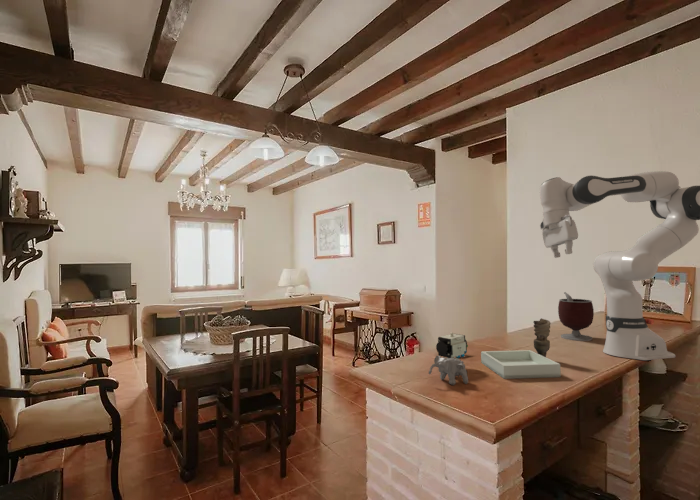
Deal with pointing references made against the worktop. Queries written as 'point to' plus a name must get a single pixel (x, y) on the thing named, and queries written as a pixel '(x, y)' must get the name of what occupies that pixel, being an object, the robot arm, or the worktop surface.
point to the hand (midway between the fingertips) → (563, 255)
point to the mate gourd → (575, 316)
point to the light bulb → (542, 336)
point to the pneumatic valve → (451, 345)
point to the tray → (520, 364)
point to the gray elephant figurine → (450, 369)
